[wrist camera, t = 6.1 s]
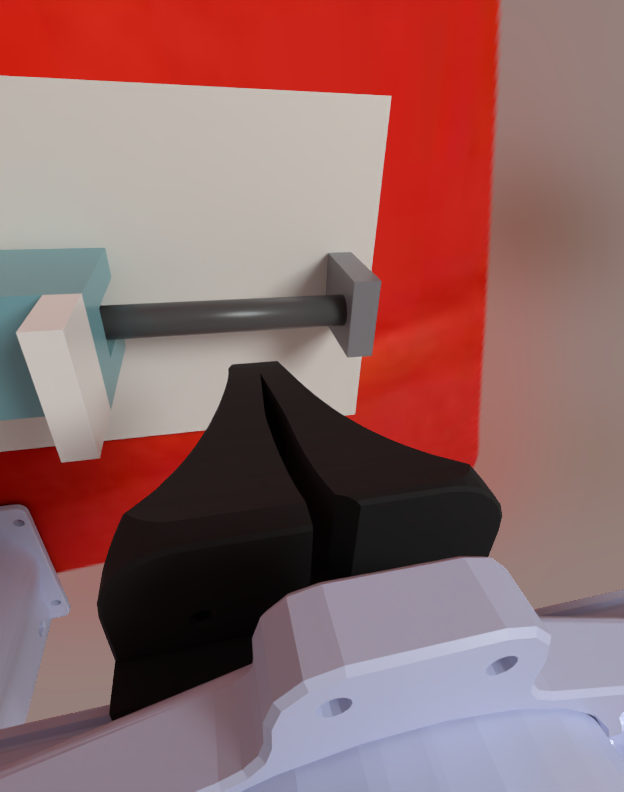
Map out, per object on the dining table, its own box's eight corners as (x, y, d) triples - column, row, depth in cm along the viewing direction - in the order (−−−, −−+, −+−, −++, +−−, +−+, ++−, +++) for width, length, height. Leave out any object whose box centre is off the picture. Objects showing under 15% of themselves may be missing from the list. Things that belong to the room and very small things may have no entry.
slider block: (125, 346, 19) (99, 458, 13) (17, 353, 18) (-62, 476, 12) (105, 247, 16) (62, 329, 11) (-20, 250, 15) (-138, 340, 10)
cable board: (349, 403, 25) (389, 479, 20) (-74, 446, 20) (-155, 556, 16) (381, 95, 17) (460, 97, 12) (-287, 61, 13) (-579, 41, 8)
